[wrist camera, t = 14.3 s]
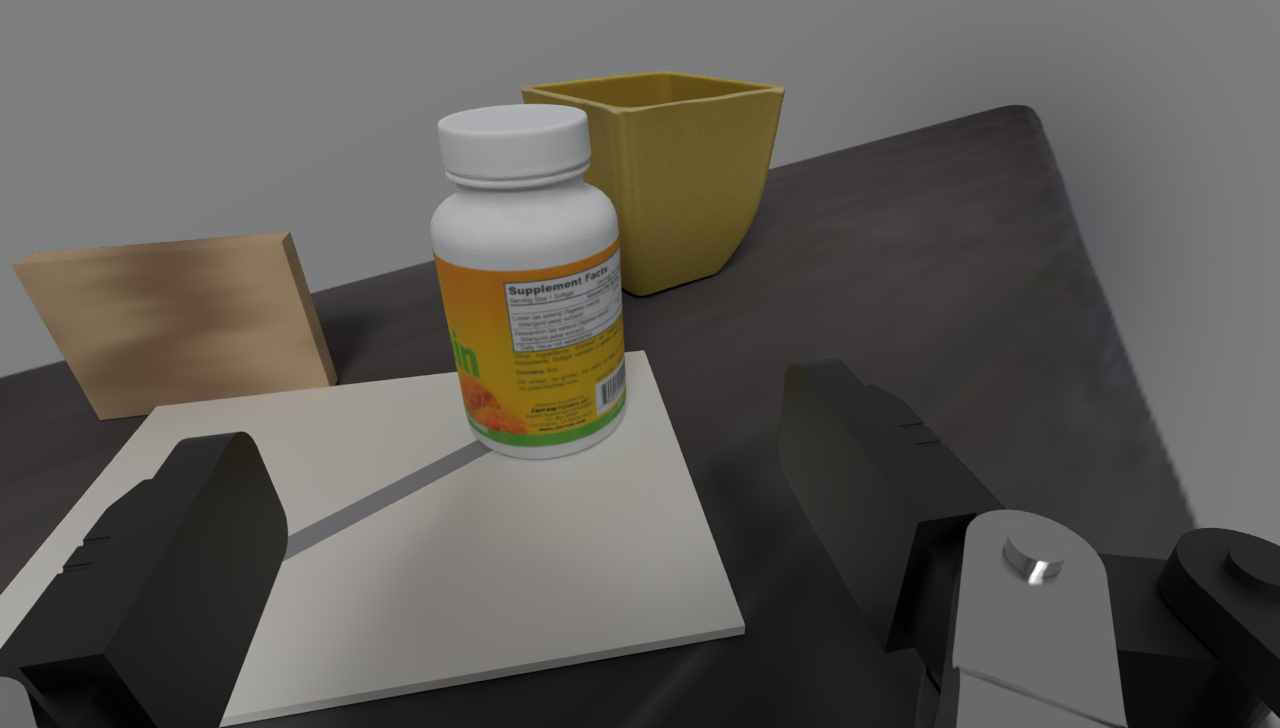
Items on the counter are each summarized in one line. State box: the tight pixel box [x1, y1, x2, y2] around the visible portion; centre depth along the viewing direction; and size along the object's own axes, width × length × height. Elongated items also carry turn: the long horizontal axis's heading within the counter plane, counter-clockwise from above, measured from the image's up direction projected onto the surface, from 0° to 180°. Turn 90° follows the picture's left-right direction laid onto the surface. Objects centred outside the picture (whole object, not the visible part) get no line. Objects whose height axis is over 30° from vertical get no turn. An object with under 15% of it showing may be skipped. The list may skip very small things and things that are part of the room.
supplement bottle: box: [430, 104, 626, 459], centre depth 20 cm, size 5×5×10 cm
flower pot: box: [521, 71, 785, 296], centre depth 31 cm, size 9×9×9 cm
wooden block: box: [12, 232, 338, 420], centre depth 23 cm, size 8×1×6 cm, turn 100°
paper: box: [0, 350, 745, 727], centre depth 19 cm, size 18×13×1 cm
